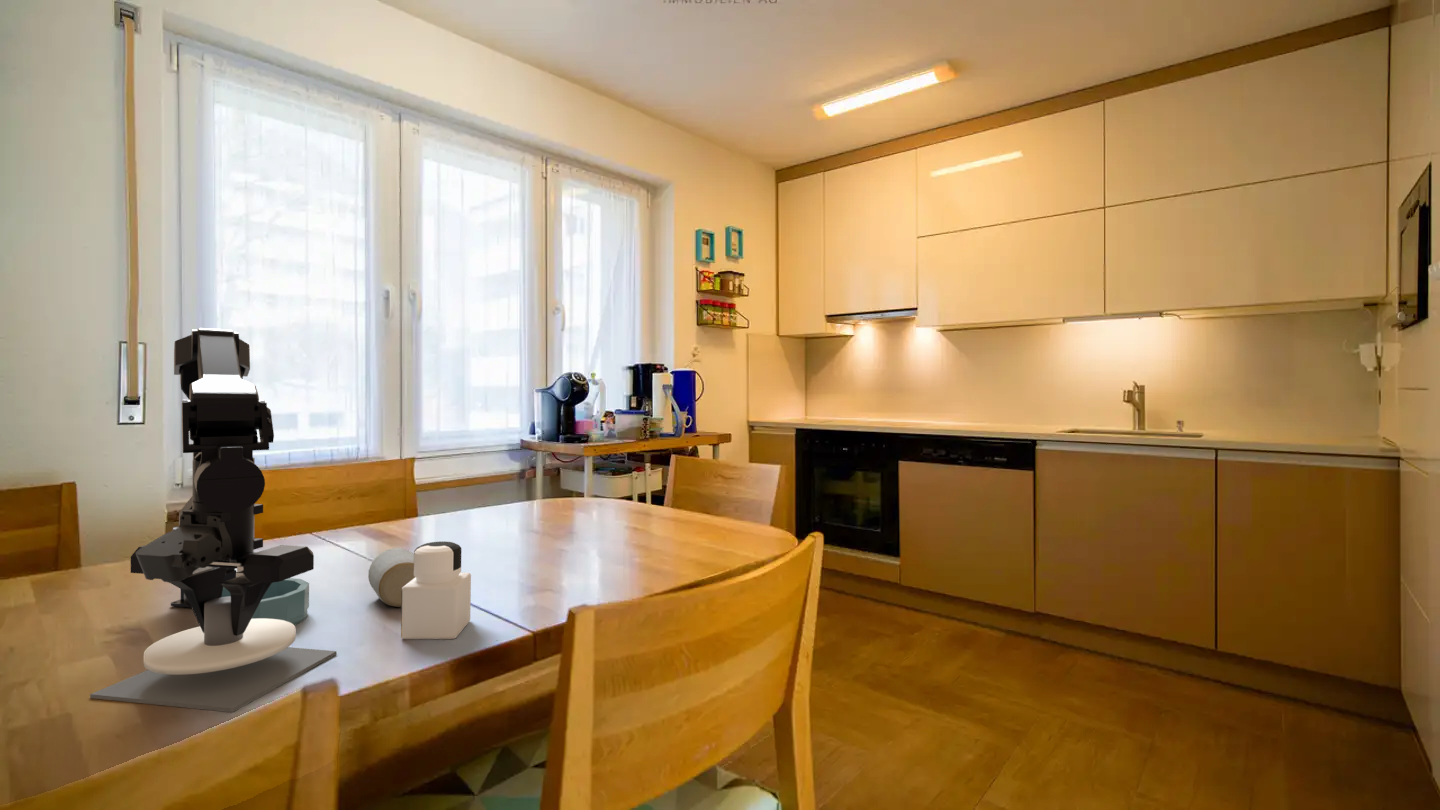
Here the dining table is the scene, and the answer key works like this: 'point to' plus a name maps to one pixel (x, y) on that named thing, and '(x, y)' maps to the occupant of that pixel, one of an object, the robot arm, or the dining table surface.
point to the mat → (216, 683)
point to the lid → (218, 643)
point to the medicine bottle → (436, 594)
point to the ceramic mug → (391, 574)
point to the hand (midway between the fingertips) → (223, 633)
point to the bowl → (283, 601)
